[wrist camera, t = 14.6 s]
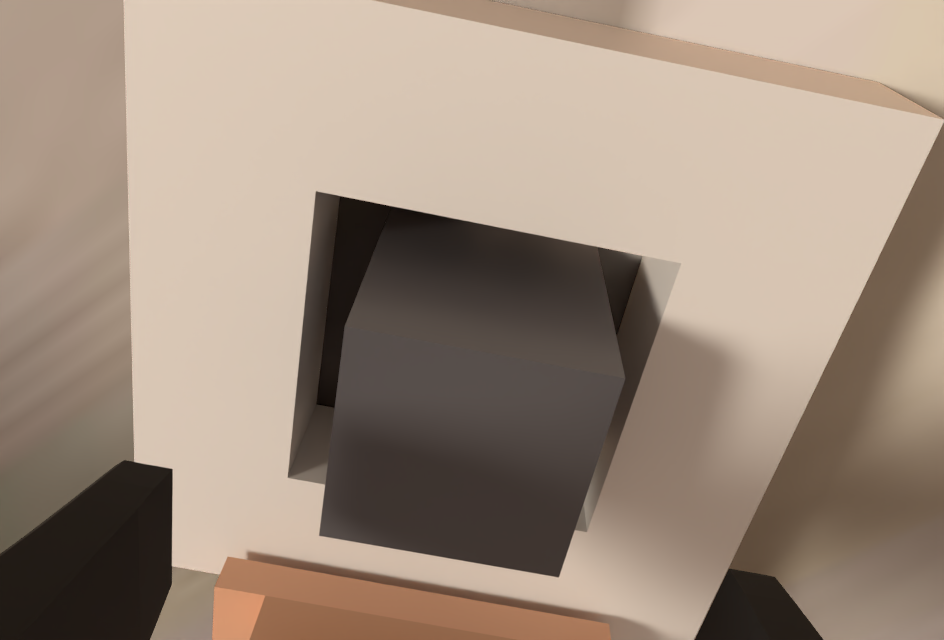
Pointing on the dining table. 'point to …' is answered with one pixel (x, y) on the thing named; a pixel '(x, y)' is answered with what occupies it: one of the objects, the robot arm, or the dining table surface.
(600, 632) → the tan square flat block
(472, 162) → the socket
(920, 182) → the dining table surface
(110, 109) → the dining table surface
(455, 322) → the grey block
